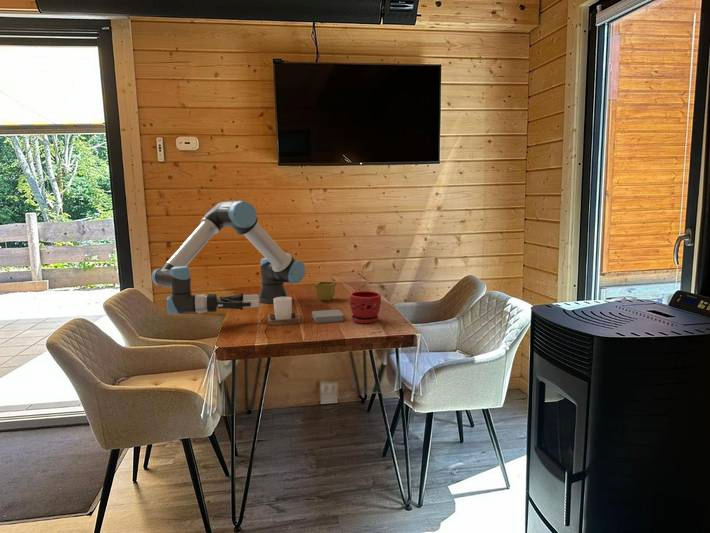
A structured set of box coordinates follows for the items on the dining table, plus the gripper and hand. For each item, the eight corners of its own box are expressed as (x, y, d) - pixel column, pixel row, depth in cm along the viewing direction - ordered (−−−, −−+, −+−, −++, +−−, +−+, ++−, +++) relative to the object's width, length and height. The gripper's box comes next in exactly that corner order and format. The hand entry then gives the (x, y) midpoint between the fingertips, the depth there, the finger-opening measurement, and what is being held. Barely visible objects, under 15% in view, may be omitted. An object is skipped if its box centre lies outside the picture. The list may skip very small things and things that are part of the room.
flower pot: (315, 301, 249) (315, 284, 248) (320, 297, 257) (320, 281, 256) (331, 301, 247) (331, 284, 246) (336, 298, 255) (336, 281, 254)
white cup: (295, 319, 211) (294, 296, 209) (288, 323, 203) (287, 300, 202) (278, 318, 213) (278, 296, 212) (271, 322, 205) (270, 299, 204)
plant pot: (348, 324, 199) (347, 296, 197) (352, 317, 212) (352, 290, 210) (379, 325, 197) (379, 296, 196) (382, 317, 210) (381, 290, 209)
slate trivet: (312, 316, 215) (312, 311, 214) (338, 314, 217) (338, 309, 217) (315, 323, 203) (315, 317, 203) (343, 321, 206) (343, 315, 205)
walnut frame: (267, 318, 213) (267, 314, 213) (297, 316, 216) (296, 312, 215) (268, 325, 200) (268, 321, 200) (300, 323, 203) (299, 318, 203)
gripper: (209, 306, 213) (258, 303, 217) (204, 318, 188) (259, 315, 193) (208, 289, 212) (257, 287, 216) (203, 299, 187) (259, 296, 192)
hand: (258, 300), depth 204 cm, fingers open, 13 cm apart
